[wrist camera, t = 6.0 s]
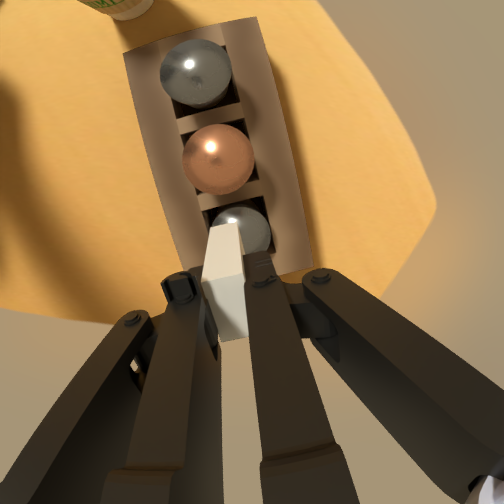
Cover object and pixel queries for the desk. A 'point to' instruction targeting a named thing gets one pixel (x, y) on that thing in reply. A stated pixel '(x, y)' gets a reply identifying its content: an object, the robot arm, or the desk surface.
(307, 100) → the desk surface
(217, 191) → the terracotta plunger
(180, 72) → the ball
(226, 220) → the grey plunger rear
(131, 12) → the coffee cup
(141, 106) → the wooden jar holder
